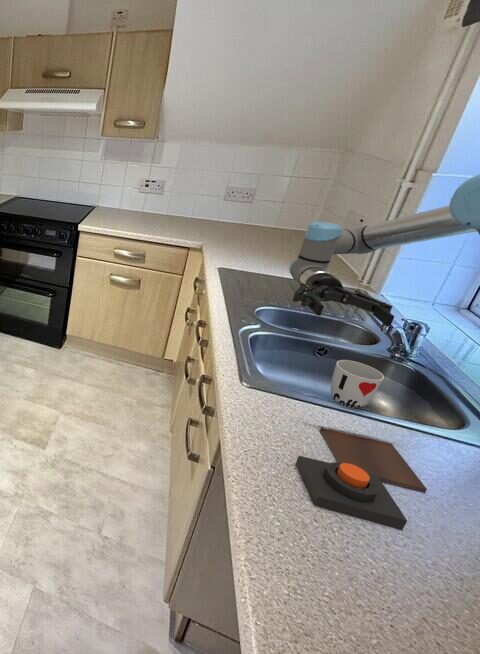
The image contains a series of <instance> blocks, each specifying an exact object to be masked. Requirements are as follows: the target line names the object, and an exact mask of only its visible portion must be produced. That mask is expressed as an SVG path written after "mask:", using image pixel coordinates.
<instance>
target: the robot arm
mask: <svg viewBox="0 0 480 654" xmlns="http://www.w3.org/2000/svg"><path fill="white" fill-rule="evenodd" d="M449 200H450V201H449V205H446V206H442V207H437V208H433V209H429V210H424V211H420V212H417V213H412V214H409V215H405V216H401V217H396V218H392V219H388V220H383V221H380V222H375V223H372V224H368V225H363V226H360V227H359V226H358V227H356V228H342V226H341V225H339V224H337V223H333V222H326V221H313V222H311V223H310V224H309V225H308V227H307V229H306V232H305V233H304V237H303V241H302V244H301V247H300V250H299V253H298V256H297V258H296V259H294V260H292V261H291V263H290V265H289V268H288V271H289V274H290V276H291V277H292V279H293V280H294V281H296V282H297V283H298V284H299V285H298V287H297V289H296V290H295V292H294V294H293V297H292V302H295V303H297V302H300V305H299V306H301V307H304V308H305V307H308V308H309V309H310V310H311V311H312V312H313V313H314V315H315V316H317V317H321V315H322V312H323V310H324V307H325V305H324V304H322V302H334V303H338V304H342V305H344V306H348V305H350V306H353V307H355V308H359V309H361V310H364V311H366V312H370V313H372V316H373V317H375V318H376V319H377V320H378V321H379V322H381V324H383V325H384V326H385V327H391V325H392V323H393V321H394V319H395V316H396V315H393V313H392V312H391V311H392V309H393V305H391V304H389V303H388V302H387V303H386V302H384V301H381V300H379V299H377V298H375V297H372V296H370V295H368V294H365V293H363V292H362V291H360V290H354V292H352V291H350V290H346V289H344V287H343V283H342V282H341V280H339V279H338V278H337V277H336V276H335V275H334V274H332V273H331V272H329V270H327V269H328V268H329V264H330V263H331V260H332V257H333V255H353V254H354V255H355V254H357V255H364V254H370V253H374V252H376V251H377V250H381V249H382V250H383V249H389V248H393V247H398V246H404V245H409V244H414V243H415V244H416V243H421V242H426V241H431V240H437V239H442V238H448V237H453V236H458V235H464V234H469V233H475V232H477V233H478V235H479V236H480V173H479V174H475V175H474V176H472V177H470V178H468V179H466V180H465V181H464V182H462V183H461V184H460V185H459V186H458V187H457V188H456V190H455V191H454V193H453V195H452V196H451V198H450V199H449Z"/></svg>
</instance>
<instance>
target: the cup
mask: <svg viewBox="0 0 480 654" xmlns="http://www.w3.org/2000/svg"><path fill="white" fill-rule="evenodd" d="M384 379H385V375H384V374H383V373H382V372H381V371H379V369H376V368H374V367H372V366H370V365H368V364H365V363H362V362H359V361H354V360H349V359H340V360H338V361H336V364H335V367H334V370H333V374H332V376H331V384H330V392H329V393H330V398H332V399H333V400H334V401H335V402H337V403H339V404H340V405H342V406H345V407H348V408H351V409H355V410H356V409H357V410H358V409H363V408H365V407H366V406H367V405H368V404H369V402H370V401H371V400H372V398H374V396H375V394H376V393H377V391H378V389H379V388H380V386H381V385H382V382H383V381H384Z"/></svg>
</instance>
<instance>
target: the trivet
mask: <svg viewBox="0 0 480 654" xmlns="http://www.w3.org/2000/svg"><path fill="white" fill-rule="evenodd" d="M319 433H320V435H321V436H322V438H323V440H324V442H325V443H326V445H327V447H328V448H329V450H330V452H331V453H332V456H333V457H334V459H335V460H336V462H340V463H349V464H352V465H355V466H357V467H359V468H361V469H362V470H364V471H365V472H368V473H372V474H376V475H377V476H378V477H379V479H380V480H381V482H382V483H383V484H386V485H387V484H388V485H391V486H395V487H399V488H403V489H407V490H410V491H415V492H419V493H422V494H425V493H426V492H427V490H428V488H427V487H426V486H425V485H424V483H423V482H422V481H421V479H420V478H419V477H418V475H417V474H416V473H415V472H414V471H413V469H412V468H411V466H410V465H409V464H408V462H407V461H406V460H405V459H404V457H403V456H402V455H401V454H400V452H399V450H397V448H396V447H395V446H394V445H393V443H390V442H387V441H381V440H378V439H373V438H368V437H363V436H359V435H355V434H350V433H347V432H342V431H338V430H332V429H327V428H325V427H320V429H319Z"/></svg>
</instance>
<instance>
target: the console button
mask: <svg viewBox="0 0 480 654" xmlns="http://www.w3.org/2000/svg"><path fill="white" fill-rule="evenodd" d="M337 476H338V477H339V478H340V479H342V480H343V481H344V482H346V483H348V484H350V485H352V486H354V487H358V488H361V489H363V488H366V486H367V484H368V482H369V480H370V477H369V475H368V474H367V473H366V472H365V471H364V470H362V469H361V468H359V467H357V466H355V465H352V464H349V463H342V464H340V466H339V468H338V470H337Z"/></svg>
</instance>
